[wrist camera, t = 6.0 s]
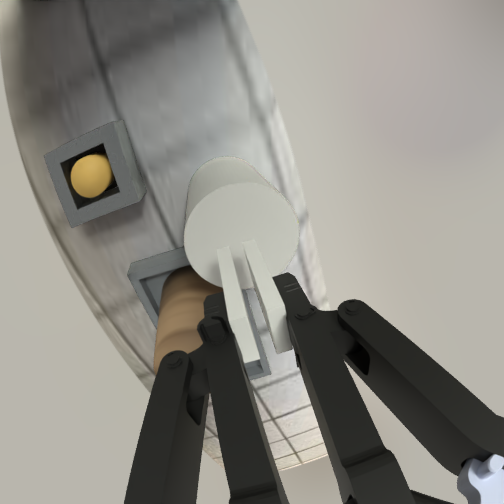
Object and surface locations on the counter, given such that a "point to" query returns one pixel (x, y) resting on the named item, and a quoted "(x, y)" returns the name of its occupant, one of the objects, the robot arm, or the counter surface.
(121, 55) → the counter surface
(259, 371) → the grey divided tray
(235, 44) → the counter surface
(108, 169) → the button
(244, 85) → the counter surface
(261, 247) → the white stubby cylinder
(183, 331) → the ball
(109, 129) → the grey square holder
